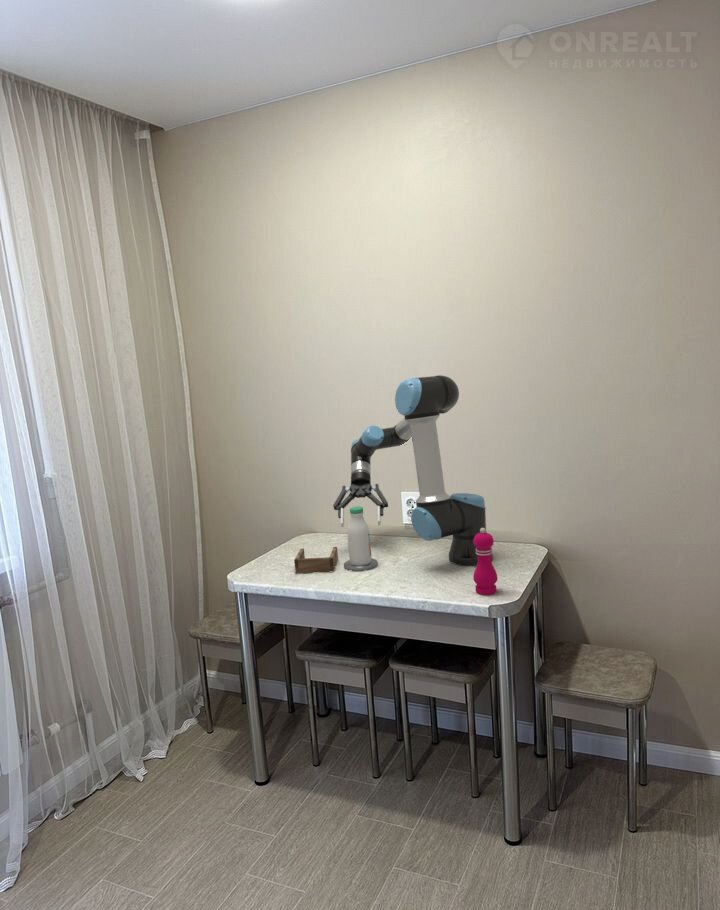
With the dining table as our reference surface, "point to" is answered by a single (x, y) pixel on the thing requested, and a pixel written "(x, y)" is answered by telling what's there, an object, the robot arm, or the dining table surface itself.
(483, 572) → the pepper mill
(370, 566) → the coaster
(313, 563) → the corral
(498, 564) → the dining table surface
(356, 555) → the milk bottle
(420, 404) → the robot arm
